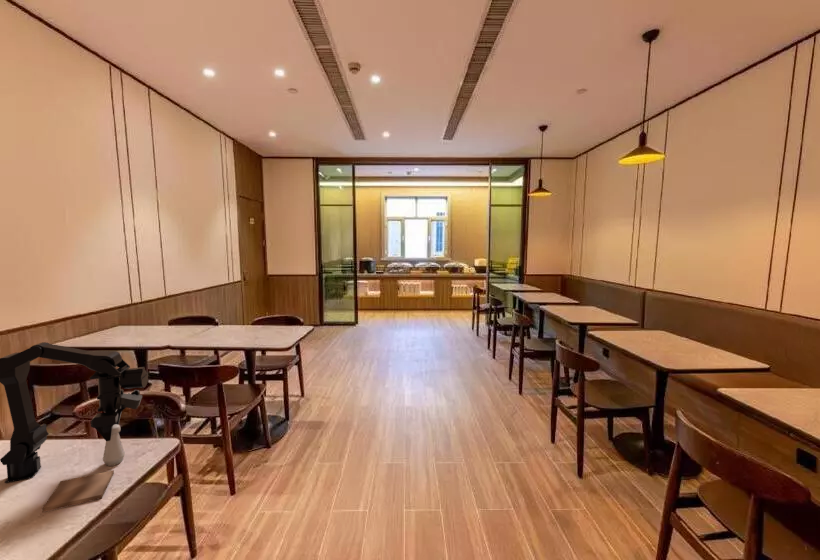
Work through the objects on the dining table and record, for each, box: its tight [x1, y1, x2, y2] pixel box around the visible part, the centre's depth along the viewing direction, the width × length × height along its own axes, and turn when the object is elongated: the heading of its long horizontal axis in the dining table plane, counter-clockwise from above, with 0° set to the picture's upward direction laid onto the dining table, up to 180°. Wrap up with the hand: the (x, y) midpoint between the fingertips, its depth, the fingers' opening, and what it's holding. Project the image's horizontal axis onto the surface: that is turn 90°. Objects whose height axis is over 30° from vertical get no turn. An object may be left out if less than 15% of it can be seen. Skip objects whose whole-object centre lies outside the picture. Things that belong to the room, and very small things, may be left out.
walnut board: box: [41, 469, 115, 513], centre depth 109 cm, size 13×13×1 cm
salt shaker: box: [102, 424, 125, 467], centre depth 123 cm, size 6×6×13 cm
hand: (112, 434), depth 123 cm, fingers open, 9 cm apart
